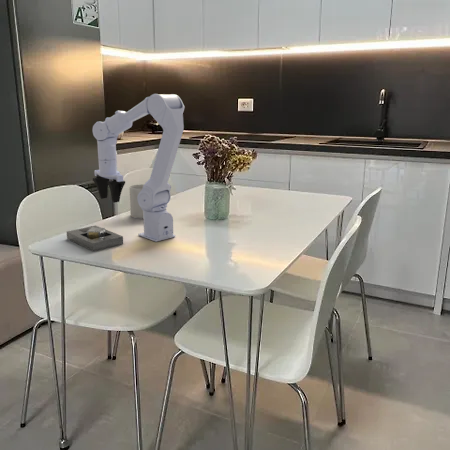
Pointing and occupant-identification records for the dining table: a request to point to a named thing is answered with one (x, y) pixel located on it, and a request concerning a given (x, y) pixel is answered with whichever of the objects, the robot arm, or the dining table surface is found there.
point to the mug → (135, 201)
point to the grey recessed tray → (94, 244)
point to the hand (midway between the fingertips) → (109, 200)
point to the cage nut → (96, 233)
